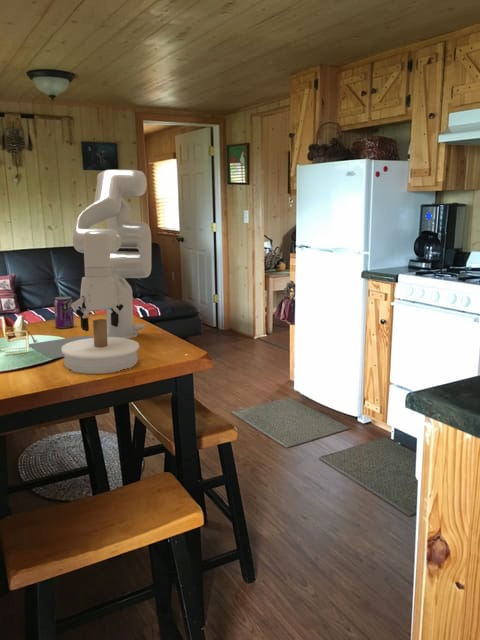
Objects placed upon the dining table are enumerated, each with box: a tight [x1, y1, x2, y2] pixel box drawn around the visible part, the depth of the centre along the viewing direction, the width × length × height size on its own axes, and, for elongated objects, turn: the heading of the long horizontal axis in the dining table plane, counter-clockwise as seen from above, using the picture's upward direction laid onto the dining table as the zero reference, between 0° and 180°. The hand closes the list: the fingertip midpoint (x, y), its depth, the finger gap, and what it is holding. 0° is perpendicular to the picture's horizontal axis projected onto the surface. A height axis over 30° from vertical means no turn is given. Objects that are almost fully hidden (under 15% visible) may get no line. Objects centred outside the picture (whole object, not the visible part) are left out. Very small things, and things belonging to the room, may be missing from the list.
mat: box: [28, 335, 94, 360], centre depth 187 cm, size 23×23×1 cm
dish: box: [63, 350, 139, 375], centre depth 168 cm, size 22×22×5 cm
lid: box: [62, 318, 140, 359], centre depth 167 cm, size 23×23×9 cm
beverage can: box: [53, 295, 75, 329], centre depth 218 cm, size 7×7×12 cm
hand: (100, 328), depth 167 cm, fingers open, 9 cm apart
